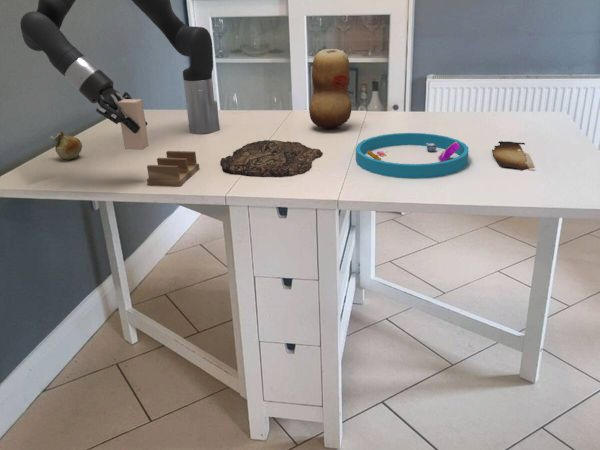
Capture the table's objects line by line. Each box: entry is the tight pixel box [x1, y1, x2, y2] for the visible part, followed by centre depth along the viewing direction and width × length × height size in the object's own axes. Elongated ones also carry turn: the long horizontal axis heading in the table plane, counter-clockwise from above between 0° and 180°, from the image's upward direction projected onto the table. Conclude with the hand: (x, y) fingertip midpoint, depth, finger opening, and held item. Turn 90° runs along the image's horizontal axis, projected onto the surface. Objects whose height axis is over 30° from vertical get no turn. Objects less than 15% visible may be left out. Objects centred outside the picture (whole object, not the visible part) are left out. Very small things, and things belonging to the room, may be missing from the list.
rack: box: [146, 150, 200, 187], centre depth 155 cm, size 14×9×5 cm, turn 168°
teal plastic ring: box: [355, 132, 470, 179], centre depth 160 cm, size 30×30×6 cm
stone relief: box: [219, 139, 324, 178], centre depth 166 cm, size 26×4×30 cm
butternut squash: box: [308, 48, 352, 130], centre depth 190 cm, size 14×13×25 cm
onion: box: [50, 131, 83, 161], centre depth 173 cm, size 8×8×8 cm
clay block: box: [117, 98, 150, 151], centre depth 149 cm, size 4×5×12 cm
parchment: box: [491, 140, 536, 172], centre depth 161 cm, size 25×10×1 cm, turn 167°
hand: (141, 128), depth 149 cm, fingers closed on clay block, 3 cm apart
